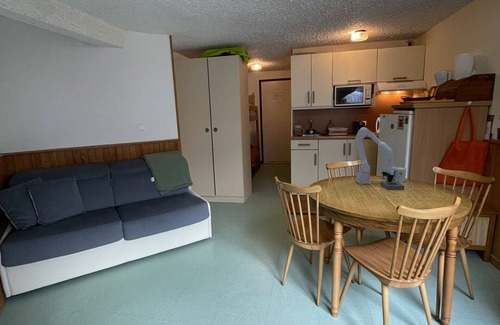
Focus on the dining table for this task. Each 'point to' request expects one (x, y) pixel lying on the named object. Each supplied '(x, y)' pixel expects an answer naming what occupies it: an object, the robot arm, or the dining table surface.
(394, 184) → the socket
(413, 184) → the dining table surface
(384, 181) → the plug
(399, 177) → the light bulb box
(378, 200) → the dining table surface
